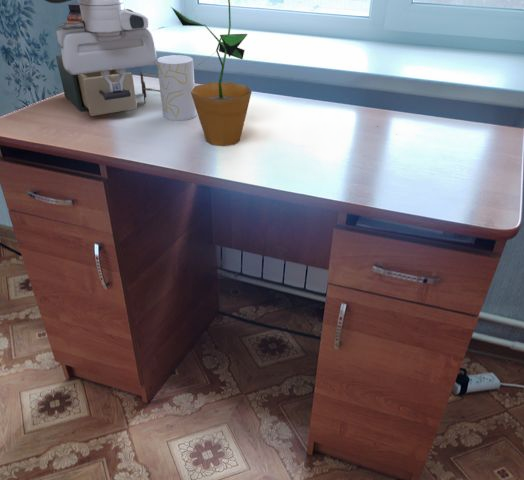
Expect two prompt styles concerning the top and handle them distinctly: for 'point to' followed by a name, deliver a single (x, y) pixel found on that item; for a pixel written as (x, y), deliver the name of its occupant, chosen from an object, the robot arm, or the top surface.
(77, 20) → the supplement bottle
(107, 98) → the drawer
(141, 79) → the sunglasses
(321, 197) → the top surface
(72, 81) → the cabinet
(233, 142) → the potted plant
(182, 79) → the cup
